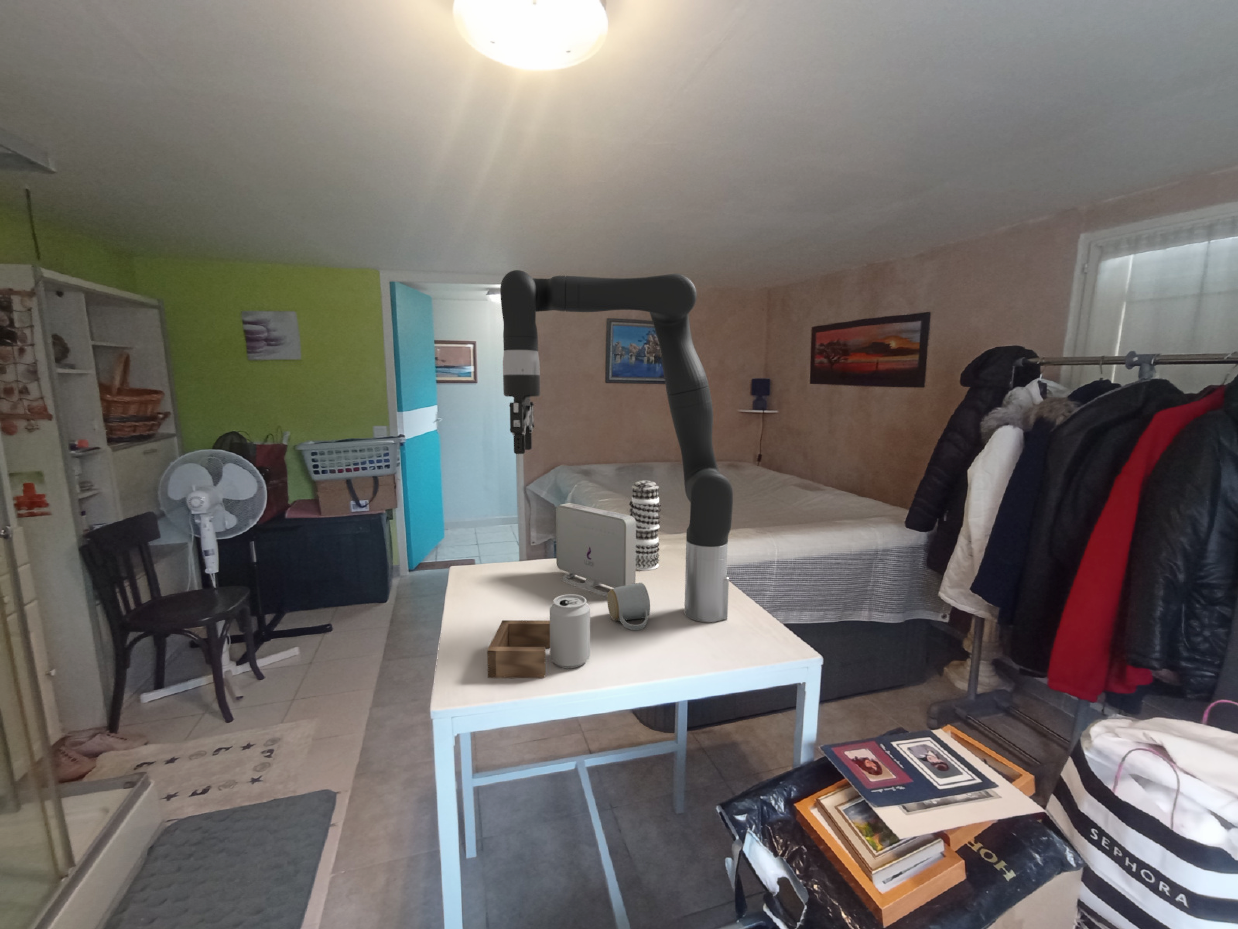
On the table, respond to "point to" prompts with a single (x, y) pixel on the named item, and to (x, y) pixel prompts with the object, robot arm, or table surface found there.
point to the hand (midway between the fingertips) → (523, 451)
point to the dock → (519, 649)
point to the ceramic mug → (629, 604)
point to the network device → (595, 546)
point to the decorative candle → (646, 523)
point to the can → (569, 631)
